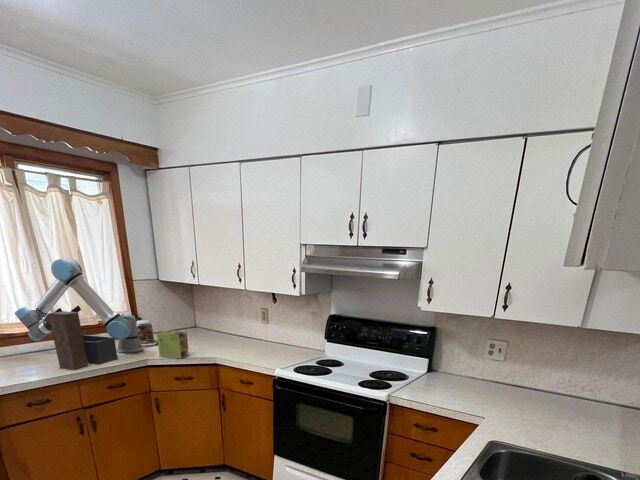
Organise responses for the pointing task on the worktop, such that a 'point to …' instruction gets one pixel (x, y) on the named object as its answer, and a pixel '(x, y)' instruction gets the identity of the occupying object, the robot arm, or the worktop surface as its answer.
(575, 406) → the worktop surface
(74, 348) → the stand
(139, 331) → the jar
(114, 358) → the trash bin
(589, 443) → the worktop surface
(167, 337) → the protein box
